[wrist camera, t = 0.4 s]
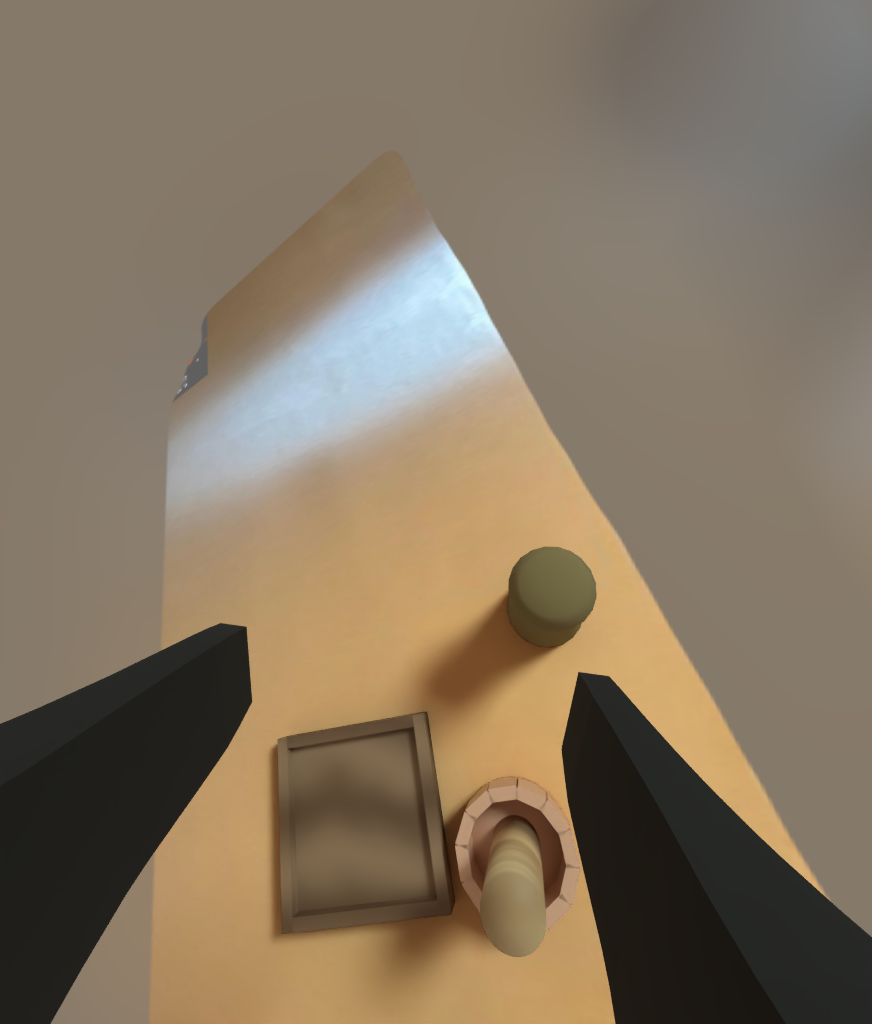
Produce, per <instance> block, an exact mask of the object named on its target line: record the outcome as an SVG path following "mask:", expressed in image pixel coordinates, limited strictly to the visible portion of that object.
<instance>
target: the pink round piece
mask: <svg viewBox="0 0 872 1024" xmlns="http://www.w3.org/2000/svg"><path fill="white" fill-rule="evenodd" d="M510 815H518V816H521V817H523V818H525V819H527V820H528V821H529V822H530V823H531V824H532V825H533V826H534V828H535V829H536V831H537V834H538V836H539V840H540V848H541V860H542V872H543V884H544V896H545V907H546V928H547V929H548V930H549V929H550V928H551V927H552V926H553V925H554V924H555V923H556V922H557V921H558V920H559V919H560V918H561V917H562V916H563V915H564V914H565V913H566V912H567V911H568V910H569V909H570V908H571V905H573V900H574V895H575V891H576V886H577V882H578V877H579V872H580V865H579V861H578V857H577V852H576V848H575V844H574V840H573V836H572V832H571V828H570V825H569V821H568V819H567V816H566V815H565V814H564V812H563V811H562V809H561V807H560V806H559V805H558V803H557V802H556V800H555V799H554V798H553V797H552V796H551V795H550V794H549V793H548V792H547V791H546V790H545V789H543V788H542V787H541V786H539V785H538V784H536V783H534V782H532V781H530V780H527V779H524V778H520V777H502V778H498V779H495V780H493V781H491V782H488V783H487V784H486V785H484V786H483V787H482V788H481V789H480V790H479V791H478V792H477V793H476V794H475V795H474V797H473V798H472V799H471V800H469V802H468V805H467V807H466V809H465V812H464V815H463V818H462V822H461V825H460V829H459V832H458V836H457V839H456V842H455V844H456V845H455V849H456V856H457V862H458V869H459V875H460V882H462V886H463V888H464V889H465V891H466V892H467V894H468V895H469V897H470V898H471V900H472V902H473V903H474V905H475V906H476V908H477V909H478V911H479V913H480V901H481V896H482V891H483V885H484V880H485V875H486V870H487V865H488V859H489V854H490V849H491V844H492V839H493V833H494V830H495V827H496V825H497V824H498V822H499V821H500V820H501V819H503V818H504V817H506V816H510Z"/></svg>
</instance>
